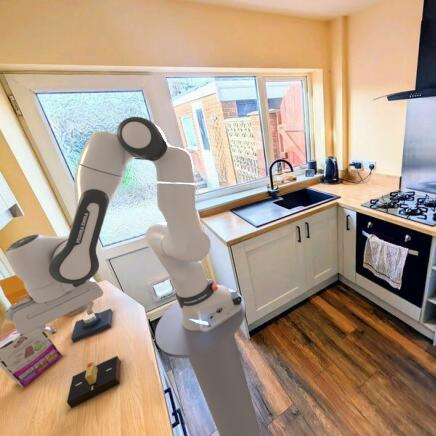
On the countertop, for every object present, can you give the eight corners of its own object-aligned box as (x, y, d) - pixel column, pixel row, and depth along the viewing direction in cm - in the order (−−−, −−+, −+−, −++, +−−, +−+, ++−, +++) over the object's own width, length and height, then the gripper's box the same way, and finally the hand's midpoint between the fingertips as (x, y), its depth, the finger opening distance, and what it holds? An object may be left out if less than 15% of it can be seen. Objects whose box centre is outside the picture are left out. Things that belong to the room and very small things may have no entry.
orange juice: (25, 313, 111) (-1, 277, 102) (50, 302, 116) (28, 267, 108) (23, 322, 105) (-4, 285, 97) (50, 310, 110) (26, 274, 102)
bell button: (96, 315, 99) (94, 311, 99) (95, 320, 96) (93, 317, 96) (85, 319, 98) (83, 315, 97) (84, 325, 95) (82, 321, 94)
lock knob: (95, 382, 73) (90, 374, 72) (90, 385, 73) (84, 377, 71) (97, 369, 77) (92, 361, 76) (92, 371, 77) (87, 363, 75)
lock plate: (120, 361, 83) (117, 354, 81) (119, 384, 75) (115, 377, 74) (77, 382, 77) (72, 375, 76) (71, 409, 70) (66, 402, 69)
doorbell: (112, 312, 105) (108, 305, 104) (111, 327, 97) (106, 320, 96) (78, 325, 100) (73, 318, 98) (73, 343, 92) (68, 335, 90)
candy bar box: (54, 353, 88) (30, 320, 82) (63, 356, 87) (39, 322, 80) (15, 384, 79) (-17, 349, 72) (24, 388, 77) (-7, 353, 71)
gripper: (0, 315, 63) (29, 352, 68) (94, 273, 77) (112, 307, 82) (-1, 305, 67) (27, 341, 72) (89, 267, 81) (106, 299, 86)
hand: (73, 322), depth 77 cm, fingers open, 8 cm apart
